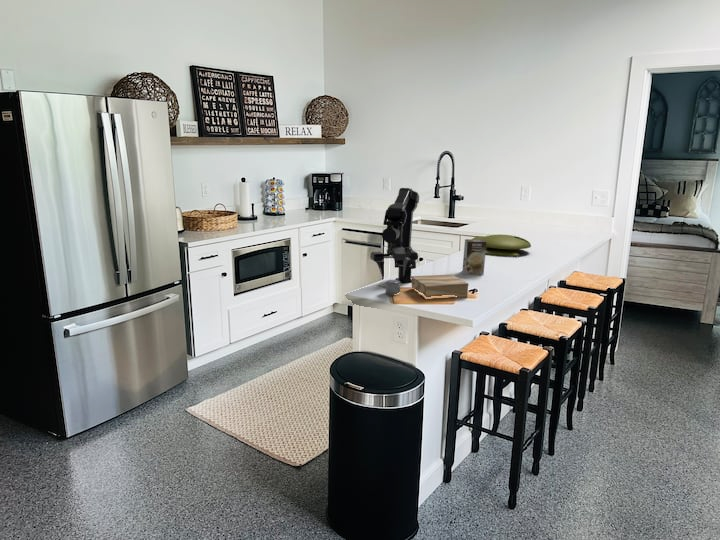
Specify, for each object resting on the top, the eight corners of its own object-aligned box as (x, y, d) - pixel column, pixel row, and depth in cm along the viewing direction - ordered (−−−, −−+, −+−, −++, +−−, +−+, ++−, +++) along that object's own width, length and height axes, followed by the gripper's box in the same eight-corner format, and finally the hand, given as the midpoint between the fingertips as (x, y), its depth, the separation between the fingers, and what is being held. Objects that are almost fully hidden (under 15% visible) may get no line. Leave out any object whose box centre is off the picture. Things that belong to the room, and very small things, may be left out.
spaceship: (466, 254, 303) (467, 237, 300) (471, 245, 331) (472, 229, 329) (530, 259, 293) (532, 241, 291) (530, 249, 322) (531, 233, 319)
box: (411, 289, 224) (411, 277, 223) (450, 287, 229) (451, 275, 228) (425, 299, 209) (426, 287, 208) (467, 297, 214) (468, 285, 213)
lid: (411, 277, 223) (411, 276, 223) (451, 275, 228) (451, 274, 228) (425, 287, 208) (426, 285, 208) (468, 285, 213) (468, 283, 213)
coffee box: (465, 274, 252) (467, 241, 248) (462, 271, 258) (464, 239, 255) (484, 274, 252) (486, 241, 249) (480, 271, 259) (483, 239, 255)
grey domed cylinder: (382, 292, 218) (383, 280, 217) (395, 290, 221) (395, 279, 220) (390, 296, 213) (390, 284, 212) (402, 294, 216) (403, 282, 214)
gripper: (378, 242, 202) (377, 282, 205) (424, 241, 207) (422, 280, 210) (370, 237, 212) (369, 275, 216) (414, 236, 217) (412, 273, 221)
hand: (393, 276), depth 215 cm, fingers open, 9 cm apart
